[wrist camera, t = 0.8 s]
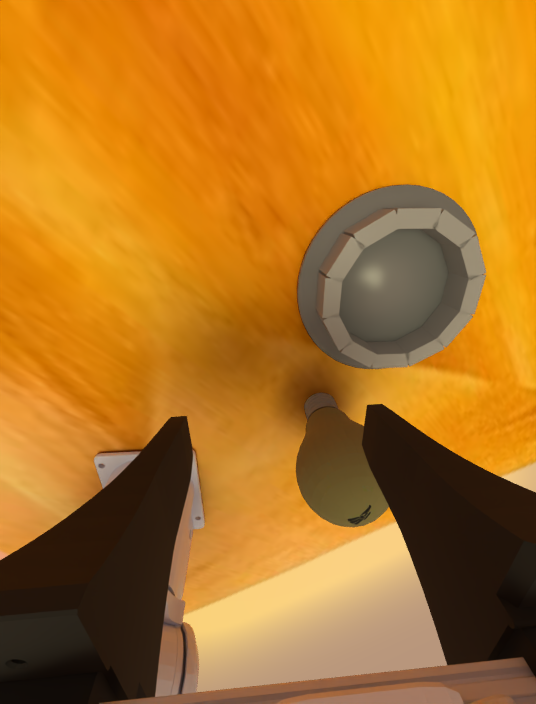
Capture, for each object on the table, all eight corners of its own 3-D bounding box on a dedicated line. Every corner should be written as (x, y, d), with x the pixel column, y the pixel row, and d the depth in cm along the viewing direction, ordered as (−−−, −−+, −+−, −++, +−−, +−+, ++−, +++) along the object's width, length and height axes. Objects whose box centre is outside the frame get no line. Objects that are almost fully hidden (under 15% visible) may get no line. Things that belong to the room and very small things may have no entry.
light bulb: (338, 434, 26) (387, 555, 17) (274, 422, 25) (291, 545, 16) (363, 378, 24) (436, 484, 15) (294, 363, 23) (327, 467, 14)
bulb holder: (449, 362, 24) (471, 379, 21) (294, 368, 23) (299, 386, 21) (500, 185, 18) (535, 182, 16) (301, 185, 18) (309, 182, 16)
